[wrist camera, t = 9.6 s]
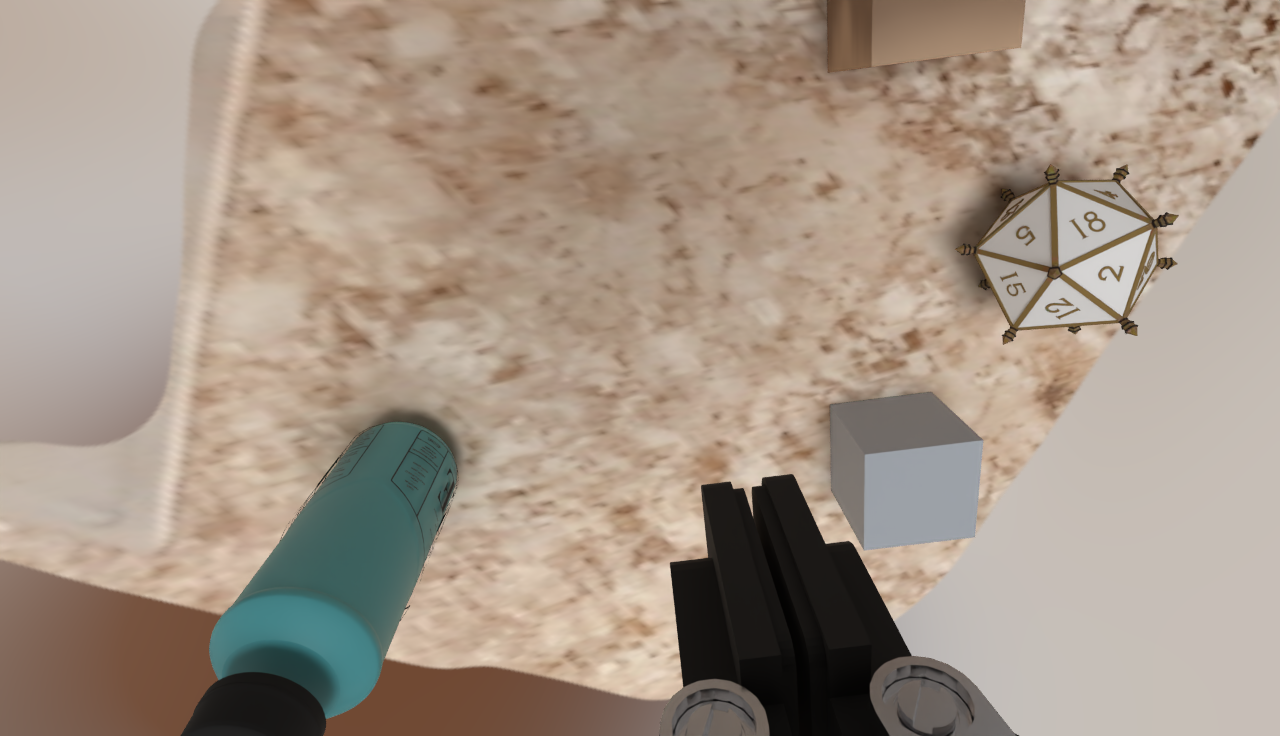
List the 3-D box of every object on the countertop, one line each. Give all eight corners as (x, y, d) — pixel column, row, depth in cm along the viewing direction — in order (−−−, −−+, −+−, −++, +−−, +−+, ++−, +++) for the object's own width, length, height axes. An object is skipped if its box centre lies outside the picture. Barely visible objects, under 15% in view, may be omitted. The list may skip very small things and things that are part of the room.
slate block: (829, 403, 39) (864, 454, 33) (930, 391, 38) (983, 440, 33) (830, 489, 41) (863, 550, 35) (926, 477, 41) (974, 537, 35)
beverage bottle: (343, 411, 38) (77, 711, 19) (456, 399, 38) (299, 687, 19) (372, 506, 40) (163, 852, 22) (479, 494, 40) (360, 831, 22)
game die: (993, 193, 38) (1186, 95, 29) (1059, 324, 38) (1274, 269, 28) (889, 245, 34) (1070, 153, 25) (961, 389, 34) (1170, 351, 25)
